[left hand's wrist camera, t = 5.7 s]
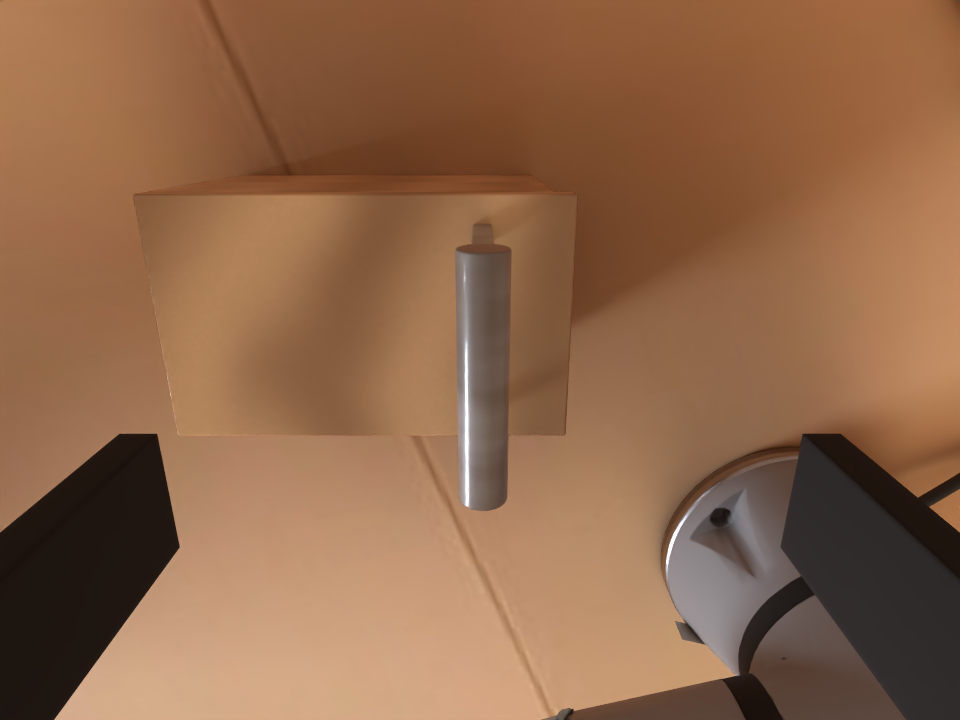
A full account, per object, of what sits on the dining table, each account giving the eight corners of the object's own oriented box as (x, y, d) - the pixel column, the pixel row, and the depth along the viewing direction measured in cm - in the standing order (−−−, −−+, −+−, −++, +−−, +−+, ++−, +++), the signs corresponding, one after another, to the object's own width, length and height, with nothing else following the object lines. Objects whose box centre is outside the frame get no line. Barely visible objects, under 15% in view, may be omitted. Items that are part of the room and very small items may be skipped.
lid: (574, 191, 23) (618, 217, 16) (562, 426, 27) (594, 536, 19) (144, 191, 23) (-9, 217, 16) (186, 426, 27) (76, 537, 19)
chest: (532, 175, 33) (555, 191, 23) (528, 348, 36) (546, 425, 27) (243, 175, 33) (145, 191, 23) (265, 348, 36) (187, 426, 27)
